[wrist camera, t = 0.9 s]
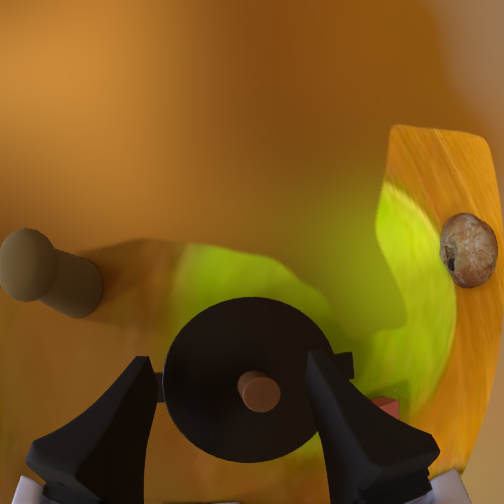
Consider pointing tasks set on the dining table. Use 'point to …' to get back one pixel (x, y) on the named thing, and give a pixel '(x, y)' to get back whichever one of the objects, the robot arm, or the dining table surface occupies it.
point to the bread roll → (468, 250)
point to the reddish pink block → (388, 405)
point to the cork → (48, 274)
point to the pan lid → (243, 379)
